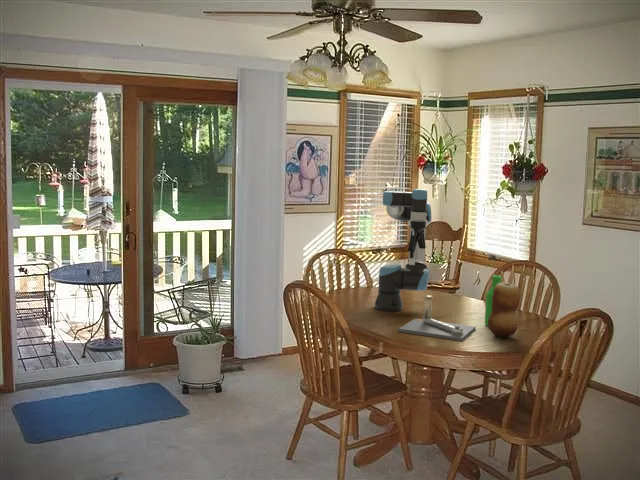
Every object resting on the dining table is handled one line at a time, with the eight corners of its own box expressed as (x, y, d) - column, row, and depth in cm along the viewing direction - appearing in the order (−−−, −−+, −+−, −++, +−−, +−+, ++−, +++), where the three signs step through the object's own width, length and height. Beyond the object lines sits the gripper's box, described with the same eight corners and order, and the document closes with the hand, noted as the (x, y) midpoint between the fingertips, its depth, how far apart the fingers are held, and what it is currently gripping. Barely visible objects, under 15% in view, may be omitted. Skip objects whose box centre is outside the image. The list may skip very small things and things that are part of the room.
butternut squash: (515, 342, 305) (519, 287, 302) (485, 338, 310) (488, 284, 307) (518, 335, 318) (521, 282, 315) (488, 331, 323) (492, 279, 320)
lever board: (398, 331, 318) (398, 327, 317) (415, 321, 340) (415, 317, 339) (462, 341, 305) (462, 337, 304) (475, 329, 326) (475, 325, 326)
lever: (464, 333, 310) (466, 306, 309) (456, 334, 308) (457, 306, 306) (428, 320, 333) (429, 294, 332) (420, 321, 331) (421, 295, 329)
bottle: (492, 328, 330) (496, 277, 327) (480, 324, 337) (483, 274, 334) (506, 327, 334) (510, 276, 331) (494, 323, 341) (497, 273, 338)
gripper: (417, 222, 324) (415, 266, 327) (433, 219, 347) (430, 260, 349) (402, 221, 328) (400, 265, 330) (418, 218, 350) (416, 259, 352)
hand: (416, 263), depth 340 cm, fingers open, 13 cm apart
